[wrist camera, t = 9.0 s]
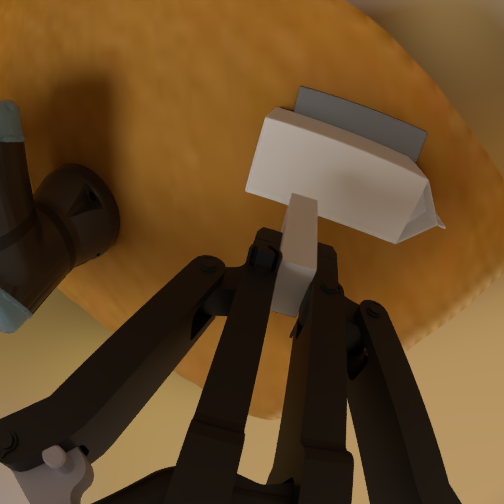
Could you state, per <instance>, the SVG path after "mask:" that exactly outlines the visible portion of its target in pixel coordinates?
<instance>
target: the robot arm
mask: <svg viewBox="0 0 504 504" xmlns="http://www.w3.org/2000/svg"><path fill="white" fill-rule="evenodd" d="M24 141H25V136H24V135H23V131H22V124H21V117H20V111H19V108H18V106H17V105H16V103H14V102H13V101H10V100H0V332H3V333H13V332H15V331H17V330H18V329H19V328H20V327H21V326H22V325H23V323H24V322H25V321H26V320H27V319H28V318H31V317H32V315H33V314H34V312H35V311H36V310H37V309H38V308H39V307H40V305H41V304H42V303H43V302H44V301H45V299H46V298H47V297H48V296H49V295H50V294H51V292H52V291H53V290H54V289H55V288H56V287H57V286H58V284H59V283H60V282H61V281H62V280H63V279H64V278H65V277H66V275H67V274H68V273H69V272H70V271H71V270H72V269H73V268H74V267H77V266H79V265H81V264H83V263H86V262H87V261H89V260H91V259H95V258H97V257H99V256H101V255H102V254H104V253H105V252H106V251H107V250H108V249H109V248H110V247H111V246H112V245H113V244H114V242H115V240H116V238H117V236H118V232H119V214H118V210H117V206H116V203H115V201H114V198H113V196H112V194H111V193H110V191H109V189H108V188H107V186H106V185H105V184H104V182H103V181H102V180H101V179H100V178H99V177H98V176H97V175H96V174H95V173H93V172H92V171H91V170H89V169H87V168H85V167H83V166H80V165H76V164H67V165H63V166H61V167H59V168H58V169H56V170H54V171H52V172H51V173H50V174H48V175H47V176H46V178H45V179H44V180H43V182H42V183H41V185H40V186H39V188H38V189H37V190H36V191H35V193H34V194H32V189H31V184H30V179H29V173H28V167H27V160H26V153H25V146H24ZM317 230H318V200H315V199H311V198H308V197H305V196H301V195H298V194H295V193H292V194H291V198H290V201H289V204H288V208H287V211H286V214H285V217H284V221H283V224H282V227H281V230H280V232H278V231H275V230H271V229H268V228H265V227H263V228H261V229H260V230H259V231H257V234H256V237H255V240H254V243H253V244H252V245H251V246H250V248H249V252H248V256H247V260H246V263H245V264H244V265H242V266H240V267H225V264H224V263H223V262H222V261H221V260H220V259H218V258H217V257H214V256H209V255H203V256H198V257H197V258H195V259H194V260H192V261H191V262H190V263H189V264H188V265H187V266H186V267H185V268H184V269H182V270H181V271H180V272H179V273H178V274H177V275H176V276H175V277H174V278H173V279H172V280H170V281H169V282H168V283H167V284H166V285H165V286H164V287H163V288H162V289H161V290H160V291H158V292H157V293H156V294H155V295H154V296H153V297H152V298H151V299H150V300H149V301H148V302H147V303H146V304H144V305H143V306H142V307H141V308H140V309H139V310H138V311H137V312H136V313H135V314H134V315H133V316H132V317H131V318H130V319H128V320H127V321H126V322H125V323H124V324H123V325H122V326H121V327H120V328H119V329H118V330H117V331H116V332H115V333H114V334H113V335H112V336H111V337H110V338H109V339H107V340H106V341H105V342H104V343H103V344H102V345H101V346H100V347H99V348H98V349H97V350H96V351H95V352H94V353H93V354H92V355H91V356H90V357H89V358H88V359H87V360H86V361H85V362H84V363H83V364H82V365H81V366H80V367H79V368H78V369H77V370H76V371H75V372H74V373H73V374H72V375H71V376H70V377H69V378H68V379H67V380H66V381H65V382H64V383H63V384H62V385H61V386H60V387H59V388H58V389H57V390H56V391H55V392H54V393H53V394H52V395H51V396H49V397H47V398H45V399H43V400H41V401H39V402H36V403H34V404H32V405H30V406H28V407H26V408H23V409H21V410H19V411H17V412H15V413H12V414H10V415H8V416H6V417H4V418H1V419H0V462H1V463H3V464H4V465H5V466H7V467H8V468H10V469H11V470H12V471H13V473H14V475H15V477H16V479H17V481H18V483H19V484H20V486H21V488H22V490H23V492H24V494H25V496H26V497H27V499H28V501H29V502H30V504H80V500H81V497H82V494H83V493H84V491H86V490H87V489H88V487H90V486H91V484H92V482H93V478H94V472H93V468H92V466H91V463H93V462H94V461H96V460H97V459H98V458H99V457H101V456H102V455H103V454H104V453H105V452H106V451H107V450H108V449H109V448H110V447H111V446H112V444H113V443H114V442H115V441H116V440H117V438H118V437H119V436H120V435H121V434H122V432H123V431H124V430H125V429H126V427H127V426H128V425H129V424H130V423H131V421H132V420H133V419H134V418H135V417H136V415H137V414H138V413H139V412H140V410H141V409H142V408H143V407H144V406H145V404H146V403H147V402H148V401H149V399H150V398H151V397H152V396H153V395H154V393H155V392H156V391H157V389H158V388H159V387H160V386H161V385H162V383H163V382H164V381H165V379H166V378H167V377H168V376H169V375H170V373H171V372H172V371H173V370H174V369H175V367H176V366H177V365H178V364H179V362H180V361H181V360H182V359H183V357H184V356H185V355H186V354H187V352H188V351H189V350H190V349H191V347H192V346H193V345H194V344H195V342H196V341H197V340H198V339H199V337H200V336H201V335H202V334H203V332H204V331H205V330H206V329H207V327H208V326H209V325H210V324H211V322H212V321H213V320H214V319H215V316H228V317H227V320H226V323H225V326H224V329H223V332H222V335H221V337H220V340H219V343H218V346H217V349H216V352H215V355H214V358H213V361H212V364H211V367H210V370H209V373H208V376H207V379H206V382H205V385H204V388H203V391H202V394H201V397H200V400H199V403H198V406H197V409H196V412H195V415H194V417H193V419H192V420H191V423H190V426H189V428H188V431H187V434H186V437H185V440H184V443H183V446H182V449H181V452H180V455H179V458H178V460H177V463H176V466H173V467H168V468H164V469H161V470H158V471H155V472H153V473H151V474H149V475H148V476H146V477H144V478H142V479H140V480H138V481H136V482H135V483H133V484H131V485H129V486H127V487H125V488H123V489H121V490H119V491H117V492H115V493H113V494H111V495H109V496H107V497H105V498H103V499H101V500H98V501H96V502H94V503H92V504H351V501H352V487H353V470H354V459H353V456H352V454H351V453H350V452H349V451H347V450H346V419H347V417H346V416H347V400H348V403H349V408H350V412H351V416H352V420H353V425H354V429H355V434H356V438H357V443H358V447H359V452H360V456H361V461H362V466H363V471H364V476H365V481H366V486H367V490H368V496H369V501H370V504H462V503H461V502H460V500H459V499H458V497H457V495H456V494H455V492H454V491H453V489H452V488H451V486H450V484H449V482H448V478H447V475H446V471H445V467H444V464H443V460H442V457H441V454H440V450H439V447H438V444H437V441H436V438H435V434H434V431H433V428H432V425H431V422H430V419H429V416H428V414H427V411H426V408H425V405H424V402H423V399H422V397H421V394H420V391H419V389H418V386H417V384H416V381H415V378H414V375H413V373H412V370H411V368H410V365H409V363H408V360H407V358H406V355H405V353H404V350H403V348H402V346H401V343H400V341H399V338H398V336H397V334H396V331H395V329H394V327H393V324H392V322H391V320H390V318H389V315H388V313H387V311H386V310H385V308H384V307H383V306H382V305H380V304H379V303H377V302H375V301H372V300H364V301H362V302H361V303H360V305H359V304H357V303H355V302H353V301H351V300H349V299H348V298H347V297H345V296H344V290H343V288H342V286H341V285H340V284H339V283H338V268H337V253H336V252H335V250H334V249H333V247H332V246H329V245H325V244H322V243H319V242H317ZM270 311H274V312H277V313H281V314H284V315H288V316H292V317H296V316H297V314H298V311H299V317H298V319H297V322H296V324H295V326H294V328H293V330H292V332H291V334H290V338H292V336H293V342H292V350H291V357H290V364H289V372H288V379H287V385H286V392H285V399H284V405H283V412H282V418H281V424H280V430H279V436H278V442H277V448H276V453H275V459H274V464H273V468H272V470H271V473H270V475H269V477H268V480H267V483H266V485H262V484H259V483H256V482H254V481H252V480H250V479H248V478H245V477H243V476H241V475H239V474H237V470H238V466H239V462H240V457H241V453H242V449H243V444H244V439H245V433H244V428H245V424H246V420H247V416H248V411H249V407H250V402H251V398H252V393H253V389H254V384H255V380H256V375H257V370H258V366H259V361H260V356H261V352H262V347H263V342H264V337H265V333H266V328H267V323H268V318H269V313H270Z"/></svg>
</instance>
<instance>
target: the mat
mask: <svg viewBox="0 0 504 504" xmlns="http://www.w3.org/2000/svg"><path fill="white" fill-rule="evenodd" d="M294 112H295V113H298V114H301V115H304V116H307V117H310V118H313V119H316V120H319V121H322V122H325V123H327V124H330V125H333V126H336V127H338V128H341V129H344V130H346V131H349V132H352V133H354V134H357V135H359V136H362V137H364V138H367V139H369V140H371V141H374V142H376V143H379V144H381V145H383V146H386V147H388V148H390V149H392V150H395V151H397V152H399V153H401V154H404V155H406V156H408V157H410V158H411V160H412V161H413V162H414V163H415V164H416V161H417V159H418V156H419V154H420V151H421V149H422V146H423V143H424V141H425V138H426V135H427V132H425V131H423V130H421V129H419V128H417V127H415V126H412V125H410V124H408V123H405V122H403V121H401V120H398V119H396V118H393V117H391V116H388V115H386V114H383V113H381V112H378V111H376V110H373V109H370V108H368V107H365V106H362V105H359V104H357V103H354V102H351V101H348V100H345V99H342V98H339V97H336V96H333V95H329V94H326V93H323V92H320V91H316V90H313V89H309V88H306V87H302V86H300V90H299V93H298V97H297V101H296V105H295V108H294Z"/></svg>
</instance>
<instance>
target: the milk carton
mask: <svg viewBox="0 0 504 504" xmlns="http://www.w3.org/2000/svg"><path fill="white" fill-rule="evenodd" d="M245 191H246V192H249V193H252V194H255V195H258V196H261V197H264V198H268V199H271V200H274V201H277V202H280V203H283V204H286V205H288V204H289V201H290V198H291V194H292V193H295V194H298V195H301V196H305V197H308V198H311V199H315V200H318V216H320V217H323V218H326V219H329V220H332V221H334V222H337V223H340V224H343V225H345V226H348V227H351V228H354V229H356V230H359V231H362V232H364V233H367V234H370V235H372V236H375V237H377V238H380V239H383V240H385V241H388V242H391V243H394V244H398V243H400V242H402V241H404V240H407V239H409V238H411V237H413V236H415V235H418V234H420V233H422V232H424V231H426V230H429V229H431V228H433V227H435V226H439V227H441V228H443V229H446V227H445V225H444V224H443V222H442V220H441V219H440V217H439V216H438V214H437V213H436V211H435V207H434V202H433V198H432V193H431V188H430V184H429V180H428V178H427V177H426V176H425V175H424V174H423V172H422V171H421V170H420V169H419V168H418V166H417V165H416V164H415V163H414V162H413V161H412V160H411V158H410V157H408V156H406V155H404V154H401V153H399V152H397V151H395V150H392V149H390V148H388V147H386V146H383V145H381V144H379V143H376V142H374V141H371V140H369V139H367V138H364V137H362V136H359V135H357V134H354V133H352V132H349V131H346V130H344V129H341V128H338V127H336V126H333V125H330V124H327V123H325V122H322V121H319V120H316V119H313V118H310V117H307V116H304V115H301V114H298V113H295V112H292V111H289V110H285V109H282V108H279V107H276V108H275V109H273V110H272V111H271V112H270V113H269V114H268V115H267V116H266V117H265V120H264V124H263V127H262V130H261V133H260V137H259V140H258V144H257V147H256V151H255V154H254V158H253V162H252V165H251V169H250V173H249V177H248V181H247V185H246V189H245Z"/></svg>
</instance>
